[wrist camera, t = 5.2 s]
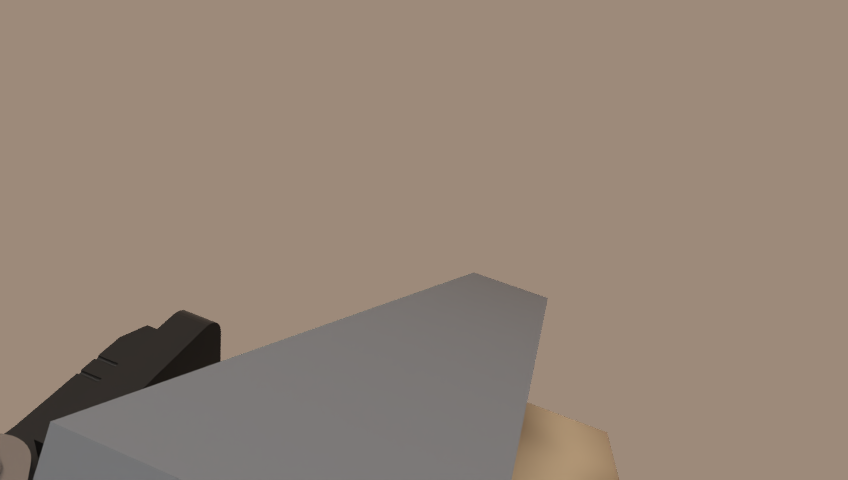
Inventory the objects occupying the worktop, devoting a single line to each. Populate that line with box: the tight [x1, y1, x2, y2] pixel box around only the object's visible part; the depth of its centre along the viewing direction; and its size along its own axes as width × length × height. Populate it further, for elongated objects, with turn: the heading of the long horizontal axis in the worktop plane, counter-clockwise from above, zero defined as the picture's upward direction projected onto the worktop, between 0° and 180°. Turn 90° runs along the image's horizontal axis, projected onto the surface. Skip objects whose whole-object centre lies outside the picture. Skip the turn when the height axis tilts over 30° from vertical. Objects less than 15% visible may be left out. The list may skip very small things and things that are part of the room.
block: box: [33, 273, 547, 480], centre depth 20 cm, size 4×30×4 cm, turn 168°
